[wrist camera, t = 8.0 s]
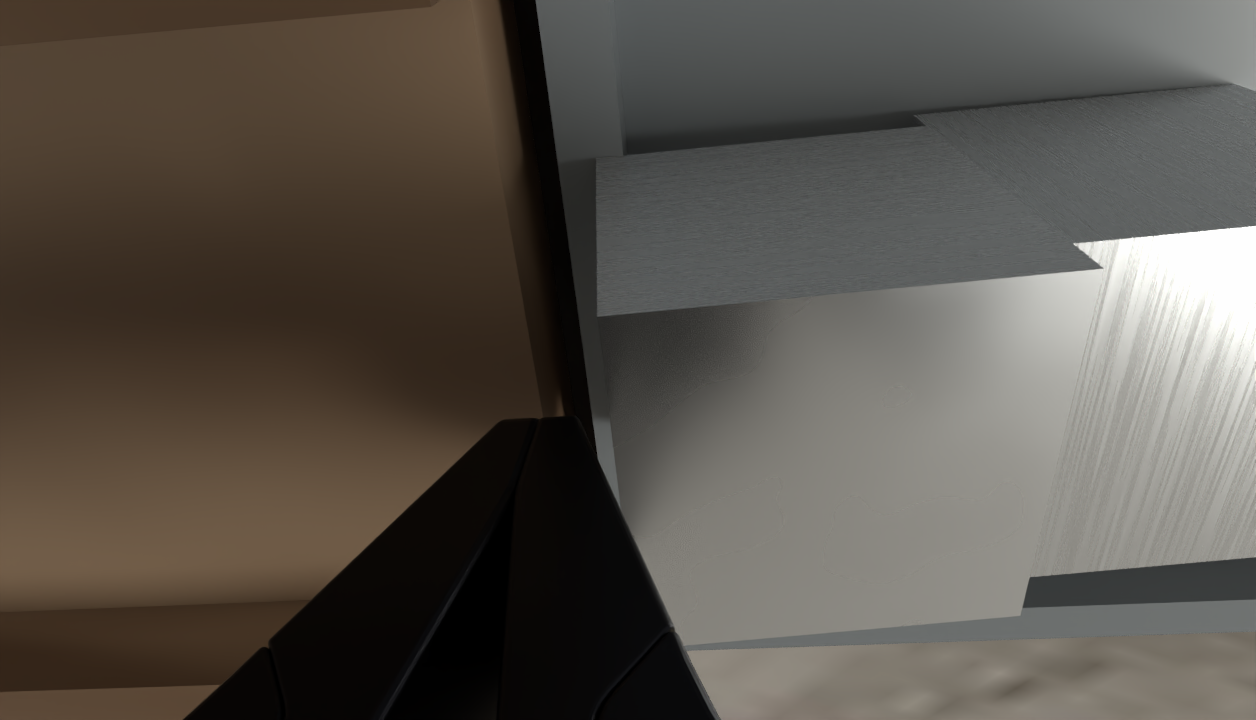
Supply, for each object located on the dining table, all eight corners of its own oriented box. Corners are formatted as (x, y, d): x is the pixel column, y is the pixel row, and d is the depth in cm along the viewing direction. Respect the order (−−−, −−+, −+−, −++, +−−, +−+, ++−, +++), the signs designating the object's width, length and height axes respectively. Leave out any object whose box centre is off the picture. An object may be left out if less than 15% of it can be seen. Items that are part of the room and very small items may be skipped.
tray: (1386, 559, 15) (1453, 624, 14) (626, 588, 16) (624, 652, 15) (1985, -516, 8) (2253, -592, 6) (510, -339, 9) (484, -372, 7)
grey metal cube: (887, 380, 12) (1154, 355, 12) (999, 579, 9) (1367, 547, 9) (913, 115, 10) (1233, 84, 10) (1071, 243, 7) (1554, 197, 7)
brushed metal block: (898, 399, 12) (1020, 615, 9) (625, 424, 12) (638, 650, 9) (927, 126, 10) (1104, 268, 6) (596, 158, 10) (597, 315, 6)
